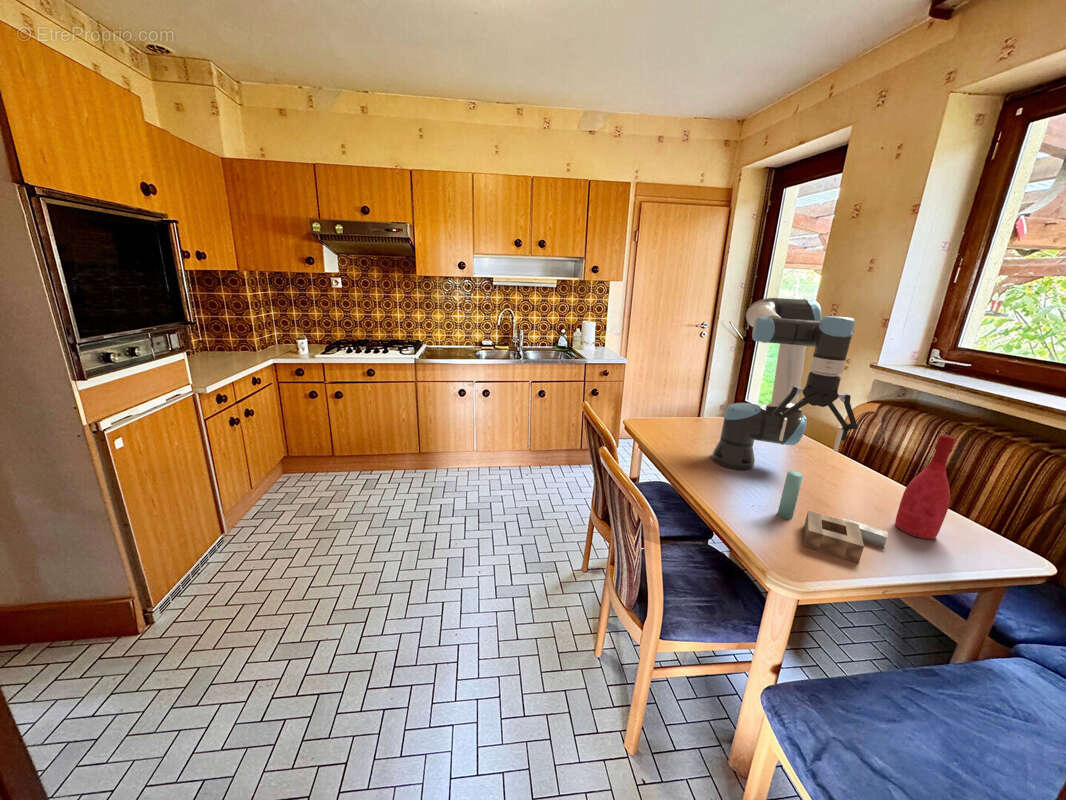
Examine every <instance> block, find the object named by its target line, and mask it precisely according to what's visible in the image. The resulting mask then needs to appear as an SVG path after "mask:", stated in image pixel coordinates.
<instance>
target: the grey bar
mask: <svg viewBox="0 0 1066 800" xmlns="http://www.w3.org/2000/svg"><path fill="white" fill-rule="evenodd" d="M842 520H844V521H848V522H851V523H855V524H859V527H860V531H861V536H862V540H863V543H865V542H866V543H868V544H871V545H874V546H876V547H879V548H883V549H884V548H885V545H886V543H887V540H888V534H889V533H888V531H886V530H884V529H880V528H877V527H873V526H870V525H867V524H865V523H861V522H858V521H855V520H852V519H849V518H845V517H844V518H843V519H842Z"/></svg>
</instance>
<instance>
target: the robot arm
mask: <svg viewBox="0 0 1066 800" xmlns="http://www.w3.org/2000/svg"><path fill="white" fill-rule="evenodd" d="M745 318H746V319H745V320H746V322H747V323H748V325H749V326H750V327H752V333H751V336H752V340H753V341H755V342H760V343H764V344H767V343H769V344H779V348H778V353H777V361H776V368H775V374H774V380H773V382H774V383H773V388H772V394H771V395H772V396H771V401H770V402H769V403H768V404H767V405H766V406H765V409H762V408H761V406H760V405H758V404H756V403H750V402H736V403H735V402H734V403H731V404H729V405H728V406H727V407H726V409H725V412H724V415H723V423H722V427H721V433H720V437H719V438H720V439H719V441H718V443H717V444H716V446H715V448H714V449H713V452H712V456H711V460H713V462H714V463H716V464H718V465H720V466H722V467H725V468H728V469H733V470H738V471H739V470H741V471H748V470H752V469H753V468H754V467H755V463H756V458H755V454H754V443H755V442H754V441H759V442H766V443H770V444H778V445H782V446H784V445H785V446H796V445H797V444H798V443H799V442H801V440H802V438H803V437H804V434H805V431H806V427H807V416H806V415H804V414H802V413H803V409H802V408H803V407H805V406H807V405H808V404H809V405H810V406H813V407H814V406H818V407H820V408H825V407H828V408H829V409H830V410H831V413H832V414H833V415H834V416H835V418H836V419H837V421H838V422H839V424H840V425H841V426H839V427H838V429H837V434H836V437H835V440H834V444H833V451H834V452H837V453H838V452H839V448H840V446H841V441H843V442H844V441H846V440H847V436H848V432H849V431H850V430H857V429H858V428H859V427H858V424H857V423H858V422H857V420H856V418H855V414H854V411H853V409H852V406H851V405H852V404H851V398H852V397H851V395H850V393H848V392H845V393H839V391H838V390H839V387H840V383H841V379H842V377H841V376H840V375H842V374H843V372H844V368H845V364H846V360H847V355H848V352H849V350H850V349H849V348H850V345H851V340H852V337H853V335H854V333H855V329H854V328H855V323H856V322H855V319H854V318H852V317H845V316H838V315H837V316H836V315H825V316H823V317H822V306H821V305H820V303H819V302H818V301H816V300H812V299H811V300H810V299H806V298H803V299H802V298H801V299H799V298H798V299H795V298H783V297H781V298H780V297H769V298H768V297H767V298H763V299H758V300H757V301H755V302H753V303H752V304H751V305H749V307H748V308H747V310H746V312H745ZM807 347H812V348H814V352H813V356H812V358H811V363H810V366H809V370H810V371H809V373H808V376H807V379H806V383H805V387H804V388H803V387H801V385H802V381H803V380H802V379H803V373H804V364H805V358H806V352H807ZM801 393H802V395H803V396H804V397H802V398H801V399H800V394H801ZM799 399H800V400H799ZM838 399H840V401H841V402H842V403H843V404H844V409H845V410H846V414H847V418H848V420H849V423H847V421H846V420H845V419H844V418H843V416H842V415H841V413H840V411H839V410H838V408H837V407H836V405H835V404H834V402H835V401H836V400H838Z"/></svg>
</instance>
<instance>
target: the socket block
mask: <svg viewBox="0 0 1066 800" xmlns="http://www.w3.org/2000/svg"><path fill="white" fill-rule="evenodd" d="M803 536H804V537H803V542H804V543H803V544H804V545H803V547H804V548H809V549H811V550H815V551H818V552H820V553H824V554H828V555H831V556H834V557H837V558H841V559H844V560H847V561H849V562H854V563H857V564H860V562H861V558H862V553H863V552H864V551H863V550H864V549H865V544H864V541H863V540H862V536H861V531H860V527H859V524H855V523H851V522H848V521H844V520H843V519H841V518H840V519H839V518H837V517H832V516H830V515H825V514H820V513H818V512H813V511H810V510H807V513H806V518H805V521H804V524H803Z"/></svg>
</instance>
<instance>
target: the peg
mask: <svg viewBox="0 0 1066 800" xmlns="http://www.w3.org/2000/svg"><path fill="white" fill-rule="evenodd" d="M803 477H804V474H802V473H801V472H799V471H798V472H797V471H792V470H788V471H787V473H786V476H785V481H784V485H783V488H782V493H781V497H780V501H779V506H778V509H777V510H778V511H777V513H776V514H777V516H778V517H779V518H782V519H784V520H792V519H793V517H794V513H795V509H796V505H797V501H798V498H799V493H800V489H801V485H802V482H803Z"/></svg>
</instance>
